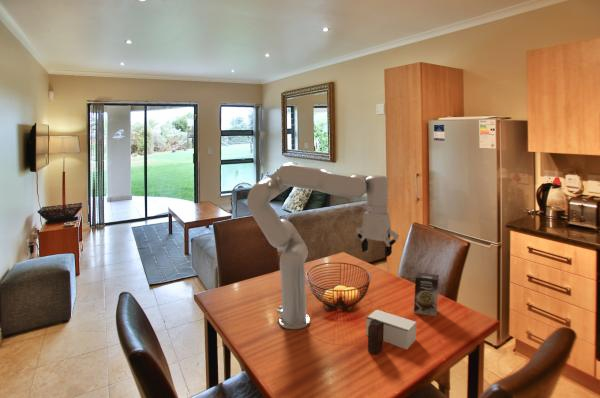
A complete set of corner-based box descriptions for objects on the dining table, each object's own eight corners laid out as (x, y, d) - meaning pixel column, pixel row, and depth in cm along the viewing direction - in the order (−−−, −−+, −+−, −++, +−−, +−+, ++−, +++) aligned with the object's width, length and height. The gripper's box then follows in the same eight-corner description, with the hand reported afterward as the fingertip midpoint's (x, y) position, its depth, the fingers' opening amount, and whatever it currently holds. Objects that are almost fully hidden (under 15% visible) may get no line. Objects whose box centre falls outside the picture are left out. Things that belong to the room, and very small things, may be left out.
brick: (383, 349, 128) (377, 355, 124) (373, 345, 130) (367, 351, 126) (384, 321, 126) (378, 327, 122) (374, 317, 128) (367, 323, 125)
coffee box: (413, 313, 153) (414, 277, 150) (414, 306, 158) (416, 271, 156) (436, 317, 149) (438, 280, 146) (437, 310, 155) (438, 274, 152)
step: (366, 334, 137) (366, 316, 136) (376, 326, 143) (376, 308, 142) (406, 349, 127) (407, 330, 126) (415, 339, 133) (416, 321, 132)
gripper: (351, 208, 137) (351, 251, 140) (394, 213, 126) (393, 260, 129) (361, 205, 143) (361, 246, 145) (403, 209, 132) (402, 255, 135)
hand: (376, 253), depth 137 cm, fingers open, 9 cm apart
